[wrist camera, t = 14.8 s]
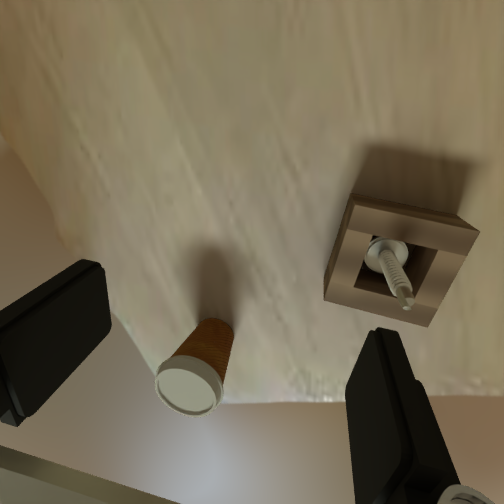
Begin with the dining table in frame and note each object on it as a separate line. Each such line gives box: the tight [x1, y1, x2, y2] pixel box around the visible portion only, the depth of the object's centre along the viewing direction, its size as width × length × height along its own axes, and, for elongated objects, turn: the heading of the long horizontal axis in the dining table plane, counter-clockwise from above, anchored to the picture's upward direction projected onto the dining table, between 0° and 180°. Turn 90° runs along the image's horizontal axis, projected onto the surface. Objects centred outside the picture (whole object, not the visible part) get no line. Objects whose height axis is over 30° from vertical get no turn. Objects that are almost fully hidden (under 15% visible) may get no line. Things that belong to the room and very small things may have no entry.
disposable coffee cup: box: [155, 318, 234, 417], centre depth 43 cm, size 10×10×12 cm
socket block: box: [324, 193, 480, 327], centre depth 34 cm, size 12×12×6 cm
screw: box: [364, 236, 415, 310], centre depth 30 cm, size 13×5×5 cm
